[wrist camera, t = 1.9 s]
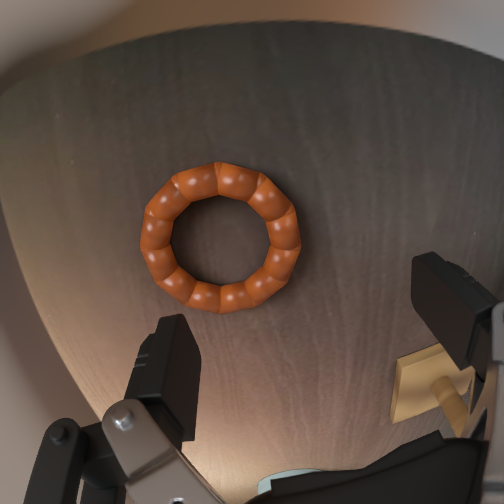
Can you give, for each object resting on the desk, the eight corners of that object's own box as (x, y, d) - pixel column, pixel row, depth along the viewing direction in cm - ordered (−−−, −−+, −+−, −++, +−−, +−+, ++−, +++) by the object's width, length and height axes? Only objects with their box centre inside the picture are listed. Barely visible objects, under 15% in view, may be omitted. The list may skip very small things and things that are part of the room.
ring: (125, 187, 16) (114, 195, 14) (278, 144, 15) (283, 147, 14) (175, 313, 19) (171, 329, 18) (307, 284, 19) (313, 298, 17)
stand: (396, 358, 22) (467, 507, 9) (480, 324, 22) (563, 437, 9) (389, 415, 26) (432, 532, 13) (461, 385, 26) (516, 484, 13)
